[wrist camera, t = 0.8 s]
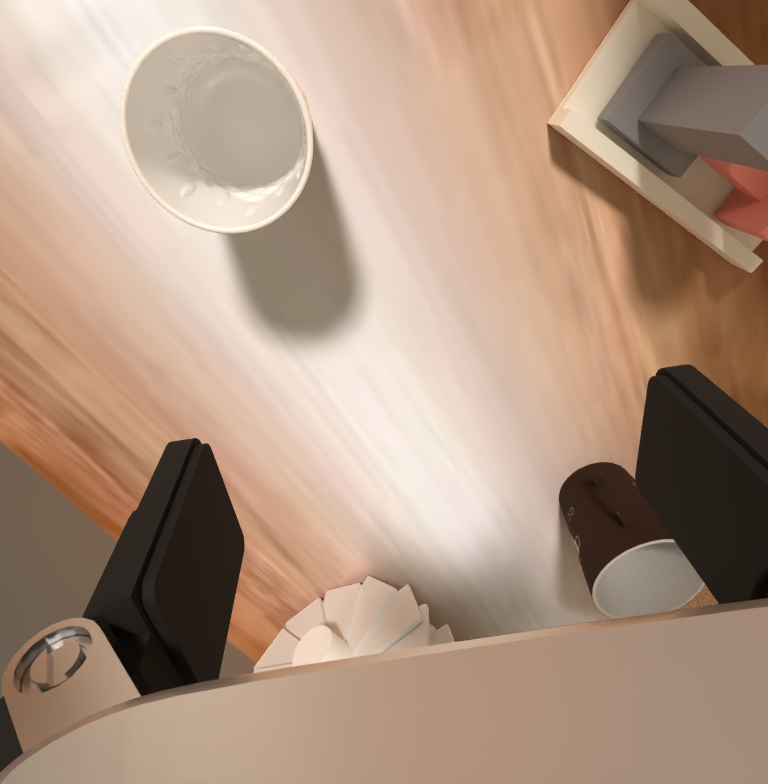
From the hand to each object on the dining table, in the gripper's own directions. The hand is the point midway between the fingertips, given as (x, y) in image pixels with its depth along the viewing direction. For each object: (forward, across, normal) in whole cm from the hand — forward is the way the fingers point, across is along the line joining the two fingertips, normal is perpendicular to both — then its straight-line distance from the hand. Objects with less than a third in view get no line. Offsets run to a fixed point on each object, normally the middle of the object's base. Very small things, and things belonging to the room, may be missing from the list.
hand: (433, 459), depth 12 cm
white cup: (+26, +6, -6) cm, 28 cm away
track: (+26, -20, -1) cm, 33 cm away
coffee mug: (+26, -16, +26) cm, 40 cm away
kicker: (+25, -20, -1) cm, 32 cm away
